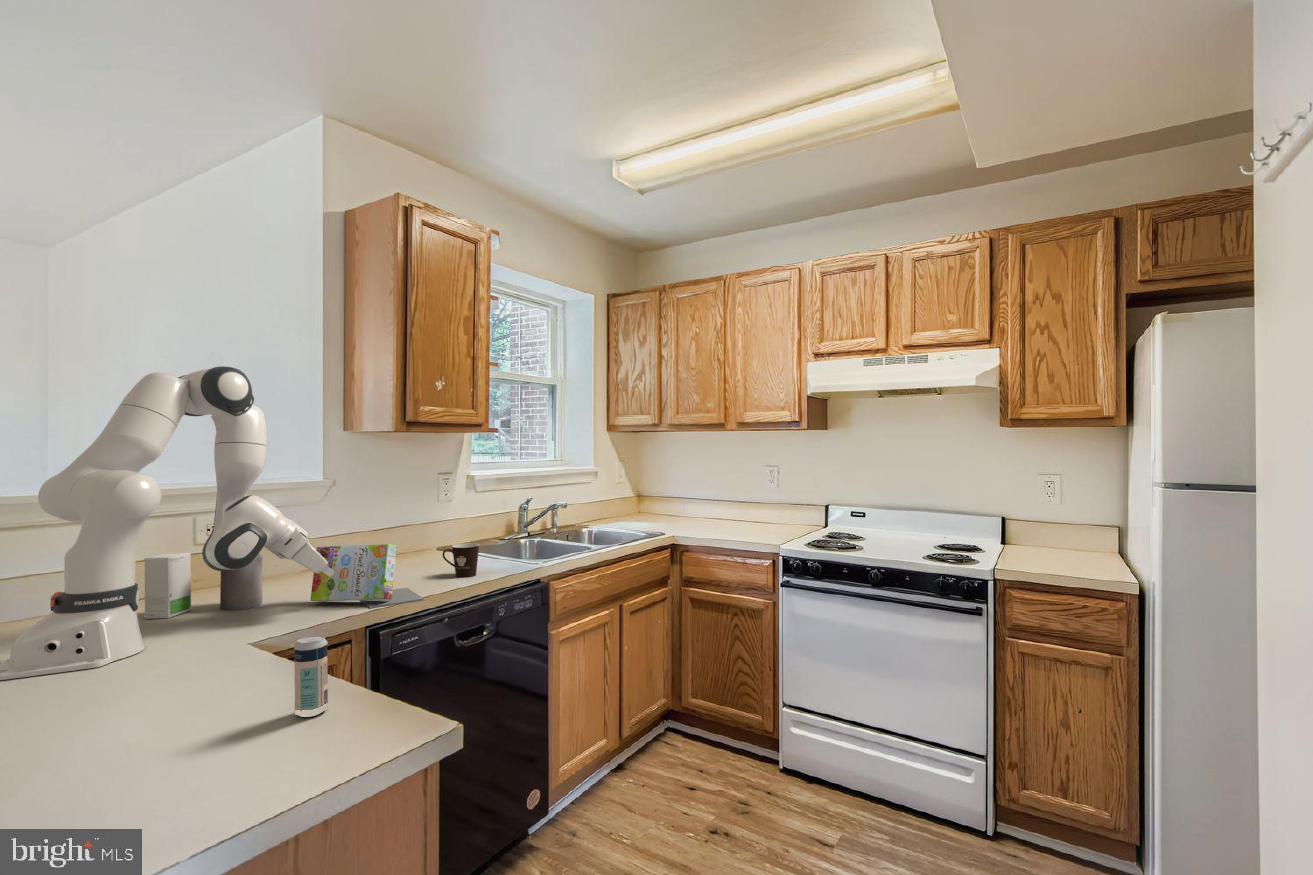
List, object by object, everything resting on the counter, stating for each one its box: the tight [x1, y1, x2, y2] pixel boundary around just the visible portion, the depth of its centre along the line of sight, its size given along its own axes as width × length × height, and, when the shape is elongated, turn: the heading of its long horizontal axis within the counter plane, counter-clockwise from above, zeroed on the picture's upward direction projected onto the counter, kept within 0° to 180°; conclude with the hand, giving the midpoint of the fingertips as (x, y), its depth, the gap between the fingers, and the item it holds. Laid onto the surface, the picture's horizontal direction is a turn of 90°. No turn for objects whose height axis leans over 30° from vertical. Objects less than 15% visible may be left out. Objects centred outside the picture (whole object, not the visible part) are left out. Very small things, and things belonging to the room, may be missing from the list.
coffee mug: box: [442, 542, 480, 579], centre depth 204 cm, size 12×9×10 cm
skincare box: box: [143, 552, 192, 620], centre depth 160 cm, size 8×7×16 cm
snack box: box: [310, 543, 398, 602], centre depth 170 cm, size 21×6×15 cm, turn 84°
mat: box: [360, 587, 425, 609], centre depth 174 cm, size 14×17×1 cm
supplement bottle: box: [293, 634, 329, 711], centre depth 99 cm, size 5×5×12 cm
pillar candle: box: [219, 552, 263, 611], centre depth 168 cm, size 10×10×15 cm
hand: (331, 573), depth 166 cm, fingers closed
